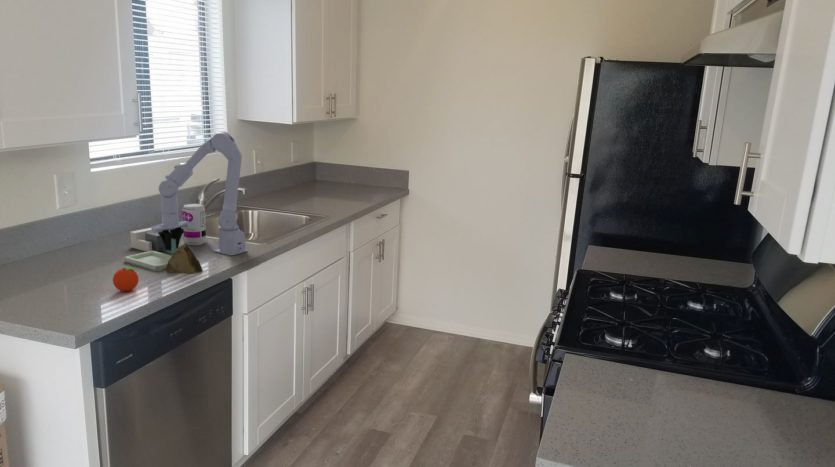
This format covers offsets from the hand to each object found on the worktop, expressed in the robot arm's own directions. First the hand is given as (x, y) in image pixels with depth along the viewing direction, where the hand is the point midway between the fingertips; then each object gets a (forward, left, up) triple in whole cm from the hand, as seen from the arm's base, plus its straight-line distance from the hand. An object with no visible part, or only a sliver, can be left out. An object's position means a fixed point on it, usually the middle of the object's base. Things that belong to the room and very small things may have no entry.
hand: (172, 249), depth 221 cm
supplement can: (+5, -14, -2) cm, 15 cm away
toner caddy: (+5, 0, -1) cm, 6 cm away
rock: (-21, +12, -2) cm, 25 cm away
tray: (-6, +12, -1) cm, 14 cm away
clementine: (-24, +34, -2) cm, 42 cm away
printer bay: (+12, 0, -1) cm, 12 cm away
